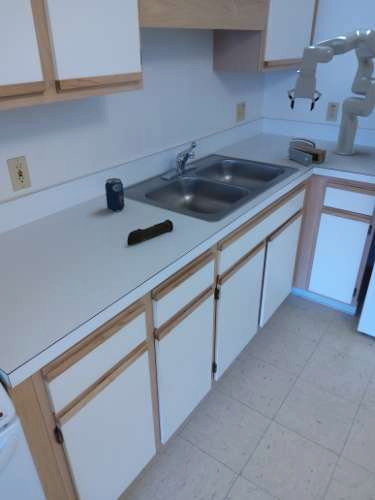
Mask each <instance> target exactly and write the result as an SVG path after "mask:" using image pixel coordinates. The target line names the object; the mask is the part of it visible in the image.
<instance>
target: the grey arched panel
mask: <svg viewBox="0 0 375 500" xmlns="http://www.w3.org/2000/svg"><path fill="white" fill-rule="evenodd" d="M288 145H289V146H288V151H289V152H290V148H291V149H292V148H293V147H295V146H297V145H299V146H305V147H311V148H317V144H316V142H315V141H314V140H311V139H310V138H306V137H293V138H291V140H290V141H289V144H288Z"/></svg>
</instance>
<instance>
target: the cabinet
mask: <svg viewBox="0 0 375 500" xmlns="http://www.w3.org/2000/svg"><path fill="white" fill-rule="evenodd" d="M292 149H295V150H298V151H300V152H303V153H306V154H309V155H312V163H311V164H317V165H320V164H322V163H323V162H325V159H326V155H327V149H324V148H323V149H321V148H318V147H316V148H311V147H305V146H299V145H297V146H295V147H293V148H292Z"/></svg>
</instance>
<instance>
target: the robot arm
mask: <svg viewBox="0 0 375 500" xmlns="http://www.w3.org/2000/svg"><path fill="white" fill-rule="evenodd" d="M353 50H354V53H355V57H356V59H357V64H358V65H357V71H356V72H355V75H354V77H353V82H352V85H351V87H350V88H351V89H350V91H351V93H352V94H354V95H357V96H364V98H363V97H357V96H348V97H346V98H345V99H344V100H343V102H342V104H341V118H340V119H341V120H340V126H339V130H338V135H337V141H336V147H335V148H333V149H332V152H333V153H334V154H337V155H341V156H351V155H352V156H353V155H354V154H355V153H356V151H355V150H353V149H354V146H355V145H354V144H355V140H356V134H357V130H358V126H359V118H358V117H362V118H367V117H369V116H370V115H372V113H373V111H374V109H375V77H373V73H374V70H375V62H374V60H373V59H375V29H372V28H357V29H354V30H351V31H349V32H347V33H345V34H342V35H341V36H338V37H333V38H330V39H327V40H323V41H319V42H317V43H314V44H312V45H311V46H309V45H308V46H307V45H306V46H305V47H304V48H303V51H302V56H301V57H302V58H301V66H300V69H299V70H297V71H296V74H297V75H299V76H297V78H296V82H295V85H294V88H292V89H290V90H287V97H288V98H289V100H290V109H291V110H293V109H294V108H295V107H294V106H295V99H310V100H311V104H310V109H309V111H310V112H312V111H313V110H314V109H315V103H316V102H317V101H318V100H320V98H321V97H322V95H323V94H322V93H321V92H320V91H318V90H317V89H316V88H317V77H316V74H317V73H316V72H317V67H318V64H327V63H330V62H331V61H332V60H333V58H334V57H335V56H339V55H344V54H346V53H348V52H350V51H353ZM291 93H293V96H292V95H291ZM315 94H316V95H317V96H316V98H315Z"/></svg>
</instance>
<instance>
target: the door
mask: <svg viewBox="0 0 375 500" xmlns="http://www.w3.org/2000/svg"><path fill="white" fill-rule="evenodd" d="M288 153H289V154H288V158H289V159H290V160H294V161H296V162H299V163H301V164H305V165H307V166H312V164H313V163H312V155H309V154H306V153H303V152H300V151H298V150H295V149H291V148H290V151H289V152H288Z"/></svg>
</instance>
